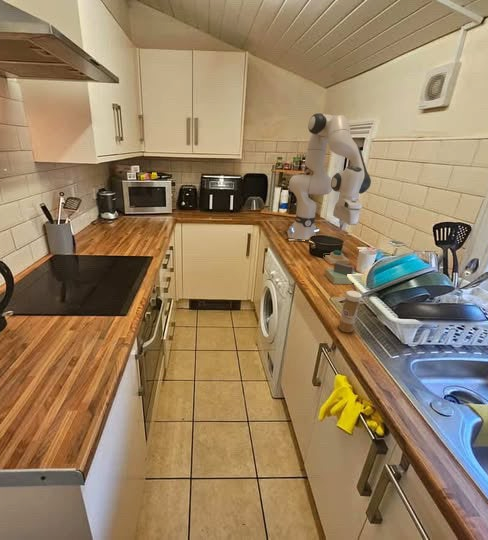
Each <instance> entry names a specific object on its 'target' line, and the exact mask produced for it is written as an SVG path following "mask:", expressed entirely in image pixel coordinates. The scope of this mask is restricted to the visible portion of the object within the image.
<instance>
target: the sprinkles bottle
mask: <svg viewBox="0 0 488 540" xmlns="http://www.w3.org/2000/svg"><path fill="white" fill-rule="evenodd" d="M362 295H363V294H362V293H360V292H359V291H356V290H347V291H346V293H345V296H344V297H345V299H344V303H343V307H342V310H341V315H340V321H339V324H338V329H339V330H340V331H341V332H343V333H352V332H353V331H354V326H355V322H356V319H357V315H358V311H359V306H360V302H361V301H362V298H363V296H362Z"/></svg>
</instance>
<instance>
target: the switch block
mask: <svg viewBox="0 0 488 540" xmlns="http://www.w3.org/2000/svg"><path fill="white" fill-rule="evenodd" d="M333 253H334V251H331V252H330V253H329V254H330V255H325V257H324V256H322V258H323V259H324V260H325V261H326V262H327V263H328V264H329V265H335V263H336V262H338V263H342V264H346V265H350V263H351V260H350V259H349V258H348V257H346V256H345V254H344V253H343V252H341V255H335V254H333Z"/></svg>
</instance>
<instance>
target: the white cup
mask: <svg viewBox="0 0 488 540" xmlns="http://www.w3.org/2000/svg"><path fill="white" fill-rule="evenodd" d="M377 255H378V253H377V252H376V251H375V250H372V249H367V248H361V249H359V250H358V253H357V259H356V266H355V271H356V273H360V274H364V272H365V271H366V270H367V269H368V268H369V267H370V266H371V265H372V264H373V263H374V264H375V263H376V262H375V261H376V258H377Z"/></svg>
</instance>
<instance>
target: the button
mask: <svg viewBox="0 0 488 540" xmlns="http://www.w3.org/2000/svg"><path fill="white" fill-rule="evenodd" d="M333 252H334V253H333V254H335V255H341V253H342V251H341V250H339V249H334V250H333Z"/></svg>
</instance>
